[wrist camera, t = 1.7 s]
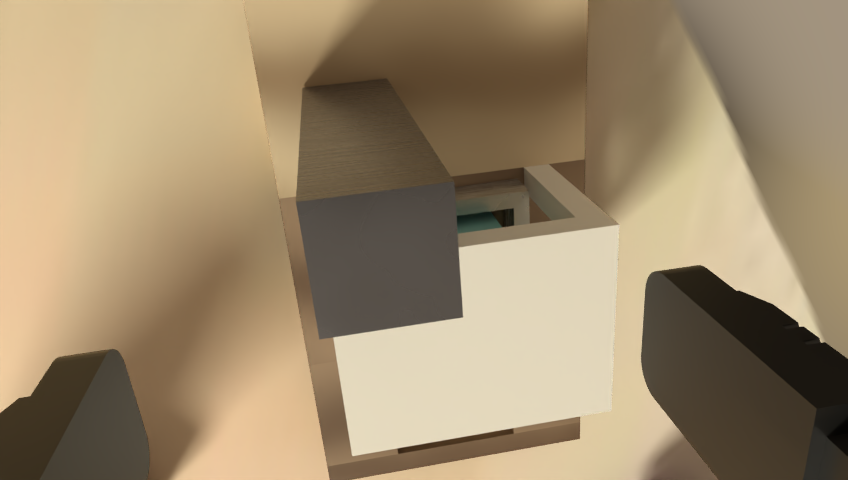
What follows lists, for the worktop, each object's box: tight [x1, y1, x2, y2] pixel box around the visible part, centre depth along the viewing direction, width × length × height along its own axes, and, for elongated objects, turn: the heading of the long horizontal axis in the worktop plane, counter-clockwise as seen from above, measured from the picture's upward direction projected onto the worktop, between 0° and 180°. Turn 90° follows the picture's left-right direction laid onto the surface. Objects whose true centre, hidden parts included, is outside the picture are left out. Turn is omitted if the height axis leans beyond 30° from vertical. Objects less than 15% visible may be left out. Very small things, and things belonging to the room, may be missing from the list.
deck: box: [243, 0, 588, 480], centre depth 27 cm, size 22×12×2 cm, turn 5°
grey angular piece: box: [296, 78, 530, 340], centre depth 20 cm, size 11×8×12 cm
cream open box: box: [333, 164, 619, 456], centre depth 24 cm, size 7×9×6 cm
